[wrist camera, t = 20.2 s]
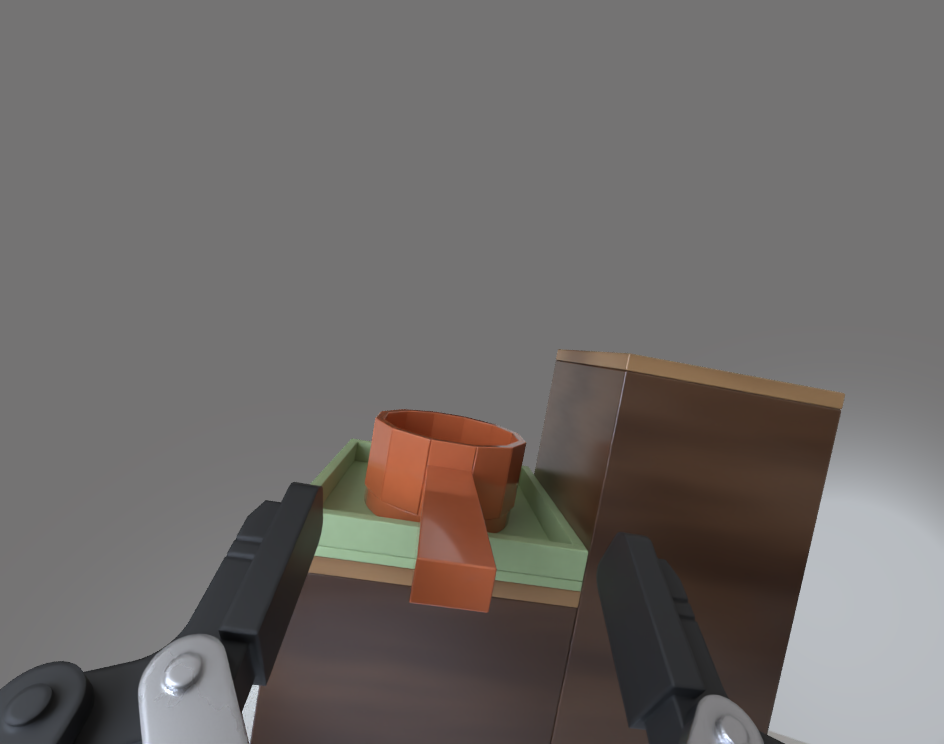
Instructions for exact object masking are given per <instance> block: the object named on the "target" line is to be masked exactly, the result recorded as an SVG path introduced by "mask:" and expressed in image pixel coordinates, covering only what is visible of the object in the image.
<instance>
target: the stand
mask: <svg viewBox="0 0 944 744" xmlns="http://www.w3.org/2000/svg"><path fill="white" fill-rule="evenodd" d="M556 360H557V361H556V364H555V369H554V374H553V379H552V384H551V390H550V395H549V400H548V406H547V411H546V416H545V421H544V426H543V431H542V437H541V442H540V447H539V452H538V457H537V463H536V469H535V473H534V475H535V477H536V478H537V480H538V481H539V482H540V484H541V485H542V487H543V488H544V490H545V491H546V492H547V494H548V495H549V497H550V498H551V499H552V501H553V502H554V504H555V505H556V506H557V508H558V509H559V511H560V512H561V513H562V515H563V516H564V518H565V519H566V520H567V522H568V523H569V525H570V526H571V527H572V529H573V530H574V532H575V533H576V535H577V536H578V537H579V539H580V540H581V542H582V543H583V544H584V546H585V547H586V549H587V550H588V557H587V562H586V567H585V572H584V577H583V581H582V588H581V591H573V590H566V589H558V588H551V587H544V586H536V585H529V584H521V583H514V582H507V581H499V580H495V582H494V588H493V593H492V598H491V603H490V609H489V612H488V613H485V612H477V611H469V610H461V609H454V608H446V607H438V606H430V605H422V604H414V603H410V602H409V597H410V588H411V580H412V571H413V569H410V568H403V567H395V566H388V565H380V564H373V563H366V562H358V561H351V560H343V559H336V558H328V557H321V556H314V558H313V560H312V563H311V566H310V568H309V571H308V574H307V577H306V579H305V582H304V585H303V587H302V590H301V593H300V596H299V598H298V601H297V604H296V606H295V609H294V612H293V615H292V617H291V620H290V623H289V625H288V628H287V631H286V634H285V636H284V639H283V642H282V644H281V647H280V650H279V653H278V655H277V658H276V661H275V663H274V666H273V669H272V672H271V674H270V677H269V680H268V683H267V685H266V686H261V685H259V691H258V697H257V703H256V709H255V716H254V722H253V728H252V734H251V741H250V744H649V740H648V736H647V732H646V730H642V729H633V728H629V727H628V722H627V718H626V713H625V709H624V704H623V700H622V695H621V691H620V686H619V682H618V677H617V673H616V668H615V664H614V660H613V655H612V651H611V646H610V642H609V637H608V633H607V628H606V624H605V619H604V615H603V610H602V606H601V601H600V597H599V593H598V588H597V582H596V573H597V567H598V564H599V561H600V560H601V558H602V556H603V555H604V553H605V552H606V550H607V548H608V547H609V545H610V543H611V542H612V540H613V538H614V537H615V535H616V534H617V533H618V532H625V533H631V534H638V535H645V536H647V537H649V538H650V540H651V542H652V544H653V546H654V549H655V552H656V555H657V557H658V559H665V560H666V561H667V562H668V563H669V565H670V566H671V567H672V569H673V570H674V571H675V573H676V574H677V575H678V577H679V578H680V580H681V582H682V585H683V587H684V590H685V592H686V595H687V597H688V603H689V604H690V605H691V607H692V610H693V612H694V615H695V621H696V622H698V625H699V627H700V630H701V633H702V635H703V638H704V640H705V643H706V645H707V648H708V650H709V653H710V655H711V658H712V660H713V663H714V665H715V668H716V670H717V673H718V675H719V678H720V680H721V683H722V685H723V688H724V690H725V692H726V694H727V696H728V698H729V699H730V700H731V701H732V702H734V703H735V704H737V705H738V706H739V707H740V708H741V709H742V710H743V711H744V712H745V713H746V714H747V715H748V716H749V717H750V719H751V720H752V721H753V723H754V724H755V726H756V727H757V729H758V730H759V731H761V732H763V733H764V734H766V735H767V733H768V728H769V723H770V719H771V715H772V711H773V706H774V702H775V698H776V693H777V689H778V685H779V680H780V676H781V671H782V667H783V663H784V658H785V654H786V650H787V645H788V641H789V637H790V632H791V628H792V624H793V619H794V615H795V610H796V606H797V601H798V597H799V593H800V589H801V584H802V580H803V576H804V571H805V567H806V563H807V558H808V553H809V549H810V545H811V541H812V536H813V532H814V528H815V523H816V519H817V514H818V510H819V505H820V501H821V497H822V492H823V488H824V484H825V480H826V475H827V471H828V467H829V462H830V458H831V453H832V449H833V445H834V440H835V436H836V432H837V427H838V423H839V418H840V414H841V410H840V409H842V406H843V402H844V398H845V394H844V393H840V392H835V391H829V390H824V389H818V388H813V387H808V386H802V385H797V384H792V383H786V382H780V381H775V380H770V379H764V378H759V377H754V376H749V375H743V374H738V373H732V372H727V371H721V370H716V369H711V368H706V367H699V366H695V365H689V364H684V363H679V362H673V361H668V360H662V359H657V358H652V357H646V356H641V355H636V354H630V353H613V352H595V351H578V350H561V349H559V350H558V353H557V358H556Z"/></svg>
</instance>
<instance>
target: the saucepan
mask: <svg viewBox="0 0 944 744" xmlns="http://www.w3.org/2000/svg"><path fill="white" fill-rule="evenodd" d="M525 446H526V442H525V441H524V440H523V439H522V437H521V436H520V435H519V434H517V433H515V432H513V431H510V430H508V429H505V428H503V427H501V426H498V425H495V424H491V423H487V422H484V421H480V420H476V419H472V418H468V417H463V416H458V415H452V414H445V413H439V412H433V411H420V410H406V409H404V410H403V409H402V410H391V411H382V412H380V414H379V415H378V416H377V417H376V419H375V425H374V430H373V436H372V442H371V448H370V454H369V460H368V466H367V472H366V477H365V486H366V487H365V493H364V501H365V504H366V506H367V507H368V509H369V510H370V511H371V512H372V513H373V514H375V515H376V516H378V517H385V518H392V519H399V520H406V521H413V522H418V528H417V537H416V545H415V554H414V563H413V571H412V580H411V588H410V597H409V602H410V603H414V604H422V605H430V606H438V607H446V608H454V609H461V610H469V611H477V612H485V613H488V612H489V609H490V603H491V598H492V593H493V588H494V582H495V577H496V572H497V568H496V564H495V560H494V556H493V552H492V548H491V544H490V541H489V537H488V533H487V532H489V533H498V532H500V531H502V530H503V529H504V528H505V527H506V526H507V524H508V522H509V518H510V513H511V509H512V508H513V507H514V504H515V499H516V494H517V488H518V483H519V478H520V473H521V467H522V462H523V457H524V452H525Z"/></svg>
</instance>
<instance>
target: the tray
mask: <svg viewBox="0 0 944 744" xmlns="http://www.w3.org/2000/svg"><path fill="white" fill-rule="evenodd" d="M370 448H371V442H370V441H363V440H358V439H351V440H350V441H349V443H347V445H346V446H345V447H344V448H343V449H342V450H341V451H340V452H339V453H338V454H337V455H336V457H335V458H334V459H333V460H332V461H331V462H330V463H329V464H328V465H327V466H326V467H325V469H324V470H323V471H322V472H321V473H320V474H319V475H318V476H317V477H316V479H315V480H314V481H313V482H312V483H311V485H318V486H322V487H323V526H322V532H321V536H320V540H319V544H318V547H317V549H316V552H315V555H314V556H321V557H328V558H336V559H343V560H351V561H358V562H366V563H373V564H380V565H388V566H395V567H403V568H410V569H413V563H414V554H415V545H416V537H417V528H418V522H413V521H406V520H399V519H392V518H385V517H378V516H376V515H375V514H373V513H372V512H371V511H370V510H369V509H368V507H367V506H366V504H365V501H364V493H365V487H366V486H365V477H366V472H367V466H368V460H369V454H370ZM487 533H488V537H489V541H490V544H491V548H492V552H493V556H494V560H495V564H496V568H497V572H496V577H495V580H499V581H507V582H514V583H521V584H529V585H536V586H544V587H551V588H558V589H566V590H573V591H581V588H582V581H583V577H584V572H585V567H586V562H587V557H588V550H587V549H586V547H585V546H584V544H583V543H582V542H581V540H580V539H579V537H578V536H577V535H576V533H575V532H574V530H573V529H572V527H571V526H570V525H569V523H568V522H567V520H566V519H565V518H564V516H563V515H562V513H561V512H560V511H559V509H558V508H557V506H556V505H555V504H554V502H553V501H552V499H551V498H550V497H549V495H548V494H547V492H546V491H545V490H544V488H543V487H542V485H541V484H540V482H539V481H538V480H537V478H536V477H535V475H534V474H533V473H532V472H531V470H530V468H529V467H527V466H522V467H521V473H520V478H519V483H518V488H517V494H516V499H515V504H514V507H513V508H512V509H511V513H510V518H509V522H508V524H507V526H506V527H505V528H504V529H503V530H502V531H500V532H498V533H489V532H487Z"/></svg>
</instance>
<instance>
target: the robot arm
mask: <svg viewBox="0 0 944 744" xmlns="http://www.w3.org/2000/svg"><path fill="white" fill-rule="evenodd" d="M322 526H323V487H322V486H318V485H311V484H303V483H297V482H293V483H291V485H290V486H289V488H288V490H287V492H286V494H285V496H284V498H283V500H282V502H273V501H267V500H266V501H264V502H263V503H262V504H261V505H260V506H259V507H258V508H257V509H255V510H254V511H253V512H252V513H251V514H250V515H249V516H248V517H247V519H246V520H245V522H244V524H243V526H242V528H241V529H240V531H239V533H238V535H237V538H236V540H235V541H234V542H233V544H232V545H231V547H230V549H229V551H228V553H227V556H226V557H225V558H224V560H223V562H222V563H221V565H220V567H219V569H218V571H217V572H216V574H215V576H214V578H213V580H212V581H211V583H210V585H209V587H208V588H207V590H206V592H205V594H204V596H203V598H202V599H201V601H200V603H199V605H198V607H197V608H196V610H195V612H194V614H193V615H192V617H191V619H190V621H189V622H188V624H187V625H186V627H185V628H184V629H183V631H182V632H181V633H180V634H179V635H178V636H177V637H176V638H175V639H174V640H173V641H171V642H170V643H169V644H168V645H167V646H165V647H164V648H162V649H161V650H159V651H157V652H155V653H153V654H152V655H150V656H147V657H145V658H142V659H139V660H135V661H132V662H127V663H123V664H118V665H114V666H109V667H104V668H100V669H96V670H91V671H86V672H83V671H82V670H81V668H79V667H78V666H77V665H75V664H73V663H70V662H64V661H58V662H51V663H46V664H43V665H40V666H37V667H35V668H32V669H30V670H28V671H26V672H24V673H22V674H21V675H19V676H17V677H16V678H15V679H13V680H12V681H10V682H9V683H8V684H7V685H6V686H4V687H3V688H2V689H0V744H249V741H248V737H247V733H246V728H245V724H244V720H243V716H242V710H243V708H244V705H245V703H246V700H247V697H248V695H249V692H250V690H251V687H252V685H261V686H266V685H267V683H268V680H269V677H270V674H271V672H272V669H273V666H274V663H275V661H276V658H277V655H278V653H279V650H280V647H281V644H282V642H283V639H284V636H285V634H286V631H287V628H288V625H289V623H290V620H291V617H292V615H293V612H294V609H295V606H296V604H297V601H298V598H299V596H300V593H301V590H302V587H303V585H304V582H305V579H306V577H307V574H308V571H309V568H310V566H311V563H312V560H313V558H314V555H315V552H316V549H317V547H318V544H319V540H320V536H321V532H322ZM596 582H597V588H598V593H599V597H600V601H601V606H602V610H603V615H604V619H605V624H606V628H607V633H608V637H609V642H610V646H611V651H612V655H613V660H614V664H615V668H616V673H617V677H618V682H619V686H620V691H621V695H622V700H623V704H624V709H625V713H626V718H627V722H628V727H629V728H633V729H642V730H646V732H647V736H648V740H649V744H784V743H782V742H780V741H778V740H776V739H774V738H772V737H770V736H768V735H766V734H764V733H763V732H761V731H759V730H758V729H757V727H756V726H755V724H754V723H753V721H752V720H751V719H750V717H749V716H748V715H747V714H746V713H745V712H744V711H743V710H742V709H741V708H740V707H739V706H738V705H737V704H735V703H734V702H732V701H731V700H730V699H729V698H728V696H727V694H726V692H725V690H724V688H723V685H722V683H721V680H720V678H719V675H718V673H717V670H716V668H715V665H714V663H713V660H712V658H711V655H710V653H709V650H708V648H707V645H706V643H705V640H704V638H703V635H702V633H701V630H700V627H699V625H698V622H696V621H695V615H694V612H693V610H692V607H691V605H690V604H689V603H688V597H687V595H686V592H685V590H684V587H683V585H682V582H681V580H680V578H679V577H678V575H677V574H676V573H675V571H674V570H673V569H672V567H671V566H670V565H669V563H668V562H667V561H666V560H665V559H658V557H657V555H656V552H655V549H654V546H653V544H652V542H651V540H650V538H649V537H647V536H645V535H638V534H631V533H625V532H618V533H617V534H616V535H615V537H614V538H613V540H612V542H611V543H610V545H609V547H608V548H607V550H606V552H605V553H604V555H603V556H602V558H601V560H600V561H599V564H598V567H597V573H596Z"/></svg>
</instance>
